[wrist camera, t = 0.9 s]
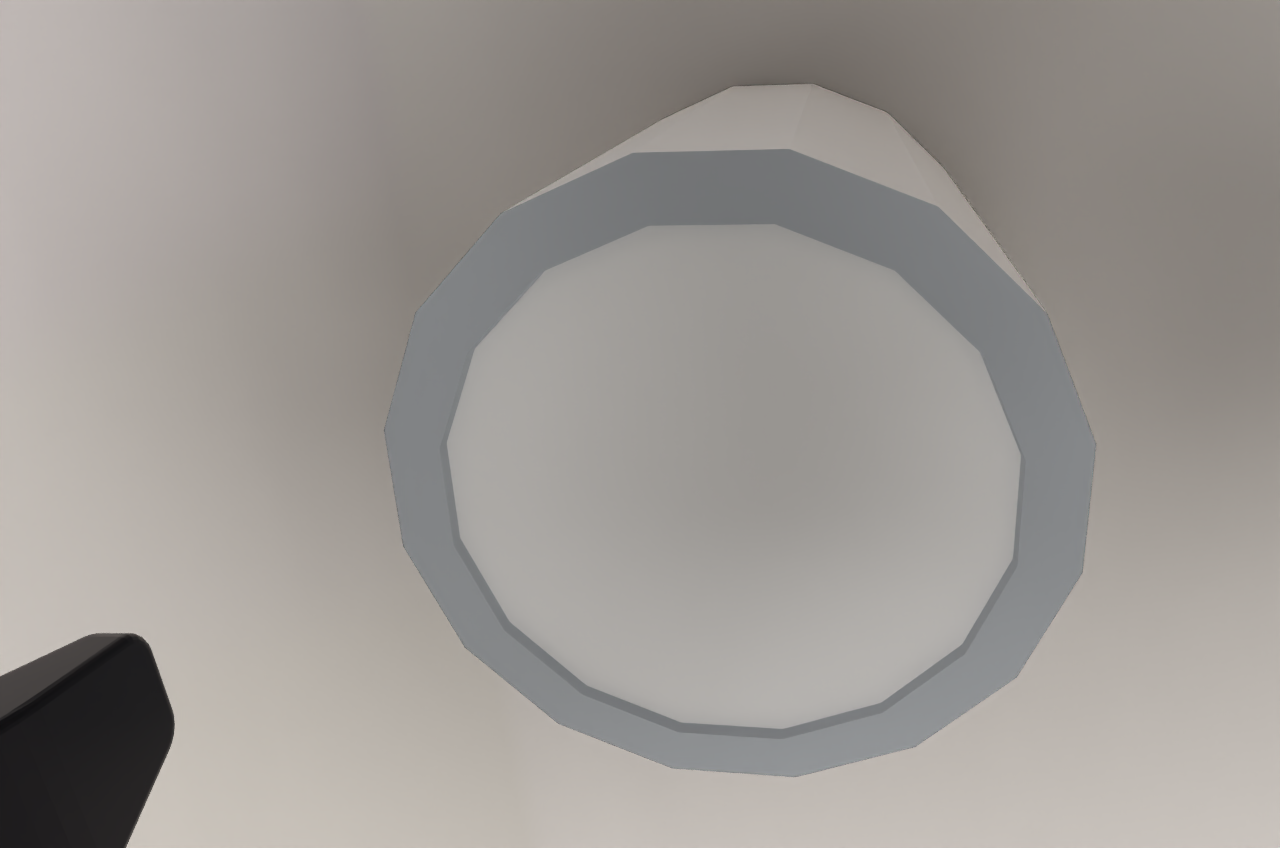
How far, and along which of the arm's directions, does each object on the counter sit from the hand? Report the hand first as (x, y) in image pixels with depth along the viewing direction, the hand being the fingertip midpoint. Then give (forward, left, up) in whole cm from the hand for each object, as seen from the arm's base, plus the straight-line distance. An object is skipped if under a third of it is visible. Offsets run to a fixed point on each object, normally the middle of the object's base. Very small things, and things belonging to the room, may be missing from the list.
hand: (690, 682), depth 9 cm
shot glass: (0, 0, -10) cm, 10 cm away
